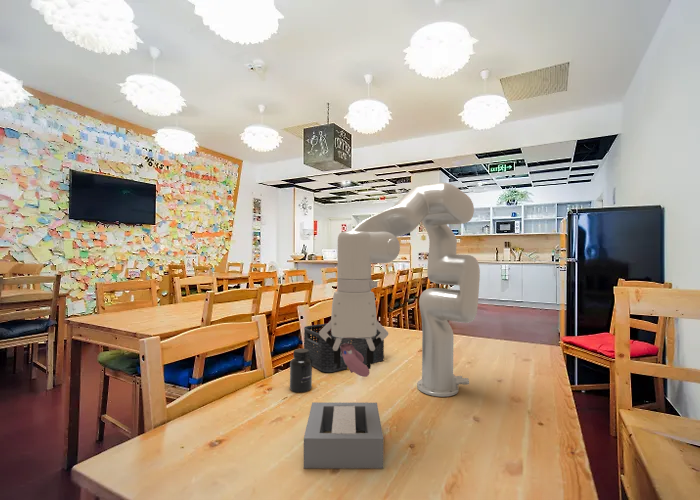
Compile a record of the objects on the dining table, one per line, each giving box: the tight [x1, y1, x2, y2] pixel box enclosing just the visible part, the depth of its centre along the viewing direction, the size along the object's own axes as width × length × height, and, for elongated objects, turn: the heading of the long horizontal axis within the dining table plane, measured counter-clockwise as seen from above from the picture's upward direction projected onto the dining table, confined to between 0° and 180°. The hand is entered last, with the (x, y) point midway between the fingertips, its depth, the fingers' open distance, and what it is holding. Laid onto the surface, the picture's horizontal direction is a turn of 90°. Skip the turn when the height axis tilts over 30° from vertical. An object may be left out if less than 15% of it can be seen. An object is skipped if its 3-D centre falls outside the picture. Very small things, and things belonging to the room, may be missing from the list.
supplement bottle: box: [289, 348, 313, 393], centre depth 108 cm, size 7×7×12 cm
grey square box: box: [303, 401, 384, 469], centre depth 77 cm, size 16×16×6 cm
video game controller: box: [340, 342, 370, 378], centre depth 76 cm, size 10×5×7 cm, turn 6°
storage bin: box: [303, 323, 385, 373], centre depth 135 cm, size 29×19×13 cm
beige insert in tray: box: [331, 406, 357, 434], centre depth 77 cm, size 5×13×2 cm, turn 0°
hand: (353, 366), depth 76 cm, fingers closed on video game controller, 6 cm apart
